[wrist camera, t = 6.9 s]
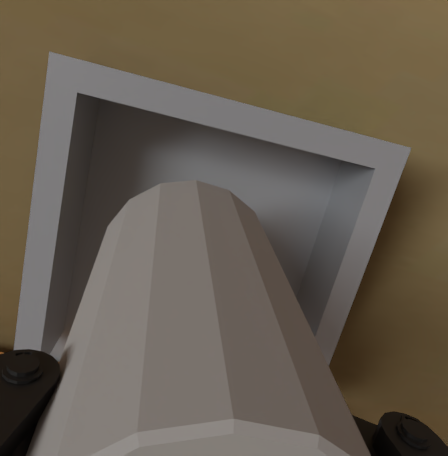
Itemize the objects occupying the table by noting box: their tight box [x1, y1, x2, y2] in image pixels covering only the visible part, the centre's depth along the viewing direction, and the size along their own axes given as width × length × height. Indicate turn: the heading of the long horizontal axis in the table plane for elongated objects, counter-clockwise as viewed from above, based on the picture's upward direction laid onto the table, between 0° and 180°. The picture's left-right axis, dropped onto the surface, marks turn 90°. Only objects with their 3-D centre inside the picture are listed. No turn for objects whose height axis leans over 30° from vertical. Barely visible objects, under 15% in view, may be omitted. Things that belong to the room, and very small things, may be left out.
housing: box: [14, 52, 411, 366], centre depth 21 cm, size 15×19×5 cm
